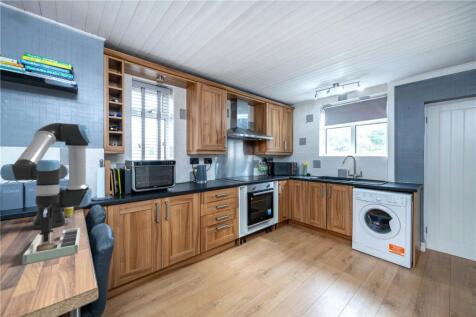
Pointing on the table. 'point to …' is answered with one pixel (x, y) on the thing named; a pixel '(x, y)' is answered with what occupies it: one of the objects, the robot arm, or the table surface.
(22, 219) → the table surface
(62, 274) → the table surface
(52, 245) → the brown rounded cylinder
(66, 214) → the supplement bottle
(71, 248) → the box
